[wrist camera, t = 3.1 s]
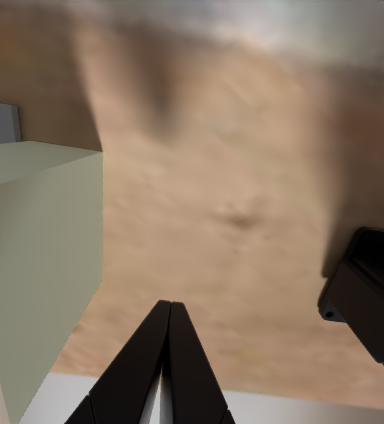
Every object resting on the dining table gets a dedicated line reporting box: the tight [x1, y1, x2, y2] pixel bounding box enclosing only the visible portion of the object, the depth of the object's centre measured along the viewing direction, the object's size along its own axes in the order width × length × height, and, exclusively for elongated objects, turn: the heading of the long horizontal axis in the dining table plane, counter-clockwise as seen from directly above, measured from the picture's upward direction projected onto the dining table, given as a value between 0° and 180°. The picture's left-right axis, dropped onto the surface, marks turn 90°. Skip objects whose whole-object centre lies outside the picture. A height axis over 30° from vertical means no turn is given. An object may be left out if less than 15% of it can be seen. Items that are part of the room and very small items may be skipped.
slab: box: [0, 141, 103, 424], centre depth 9 cm, size 4×8×8 cm, turn 171°
